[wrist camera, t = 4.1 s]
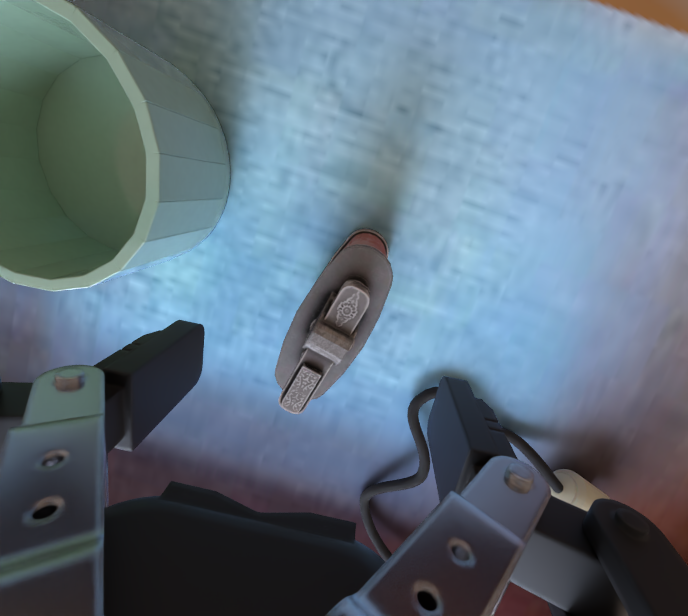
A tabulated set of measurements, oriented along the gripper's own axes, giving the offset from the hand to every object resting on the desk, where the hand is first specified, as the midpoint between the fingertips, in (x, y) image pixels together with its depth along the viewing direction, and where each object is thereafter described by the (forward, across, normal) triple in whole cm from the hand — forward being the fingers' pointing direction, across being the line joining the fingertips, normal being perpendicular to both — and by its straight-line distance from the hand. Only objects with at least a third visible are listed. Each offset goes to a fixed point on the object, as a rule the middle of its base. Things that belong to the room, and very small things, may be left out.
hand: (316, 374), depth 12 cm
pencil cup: (+12, +14, -5) cm, 19 cm away
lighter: (+12, 0, 0) cm, 12 cm away
